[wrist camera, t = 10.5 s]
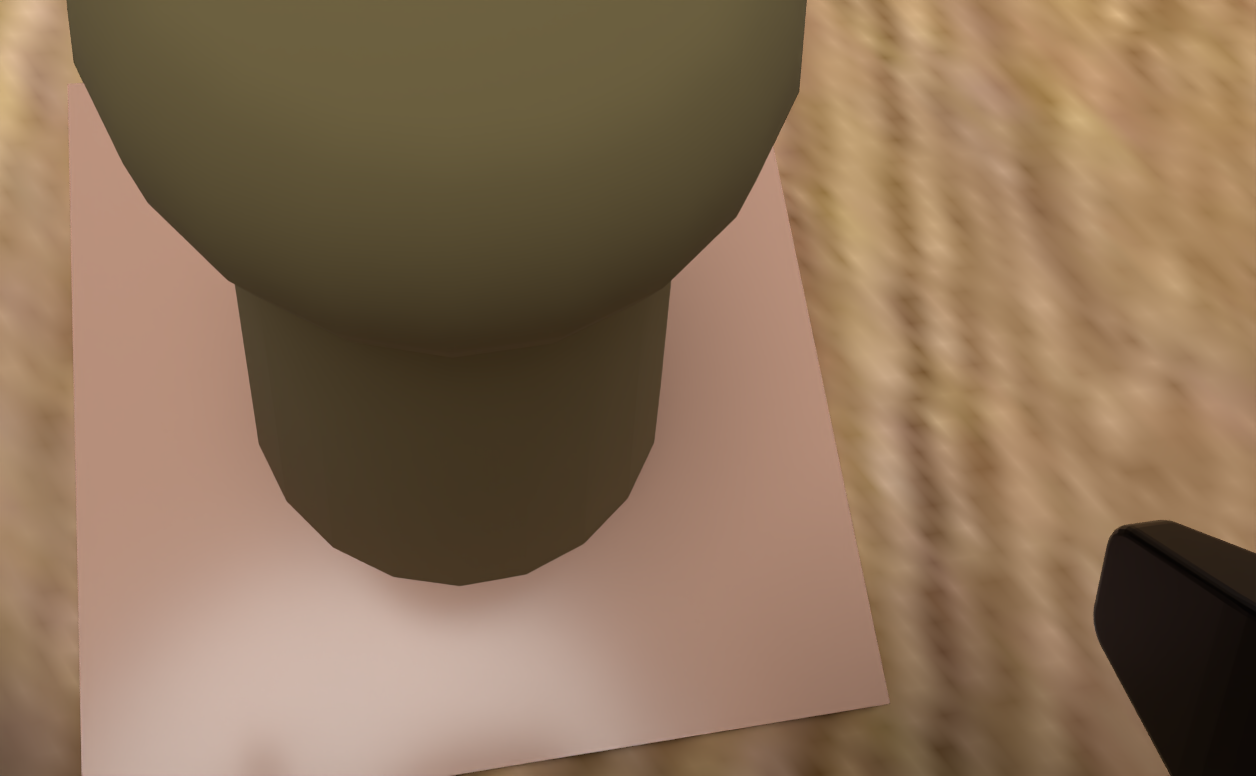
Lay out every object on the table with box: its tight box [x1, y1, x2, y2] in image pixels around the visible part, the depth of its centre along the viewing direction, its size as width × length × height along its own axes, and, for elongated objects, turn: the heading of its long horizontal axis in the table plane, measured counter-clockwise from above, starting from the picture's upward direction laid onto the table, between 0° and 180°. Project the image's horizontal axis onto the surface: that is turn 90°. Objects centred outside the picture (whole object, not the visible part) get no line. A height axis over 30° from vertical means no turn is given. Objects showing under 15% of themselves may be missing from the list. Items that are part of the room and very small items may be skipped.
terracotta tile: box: [68, 83, 890, 776], centre depth 17 cm, size 11×11×1 cm
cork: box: [67, 0, 807, 586], centre depth 12 cm, size 6×6×11 cm
